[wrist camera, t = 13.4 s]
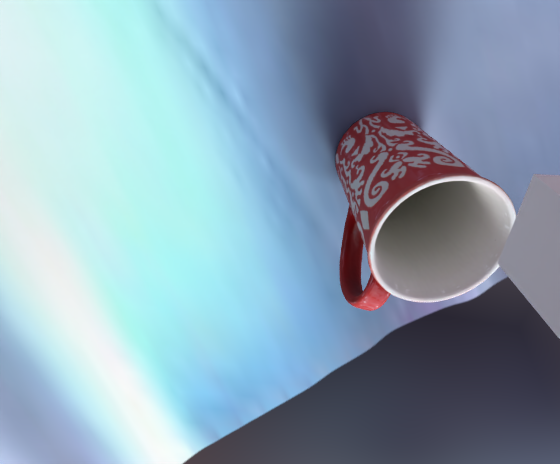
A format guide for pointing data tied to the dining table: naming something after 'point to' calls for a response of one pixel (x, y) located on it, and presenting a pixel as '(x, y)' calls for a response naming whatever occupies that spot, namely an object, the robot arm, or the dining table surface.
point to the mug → (415, 215)
